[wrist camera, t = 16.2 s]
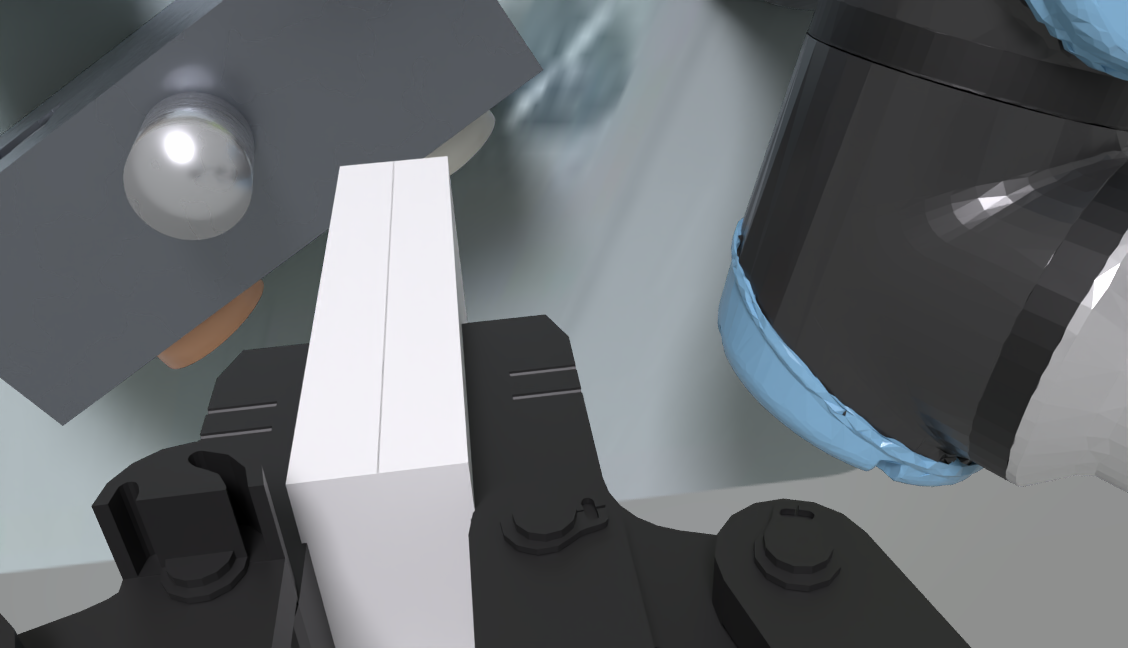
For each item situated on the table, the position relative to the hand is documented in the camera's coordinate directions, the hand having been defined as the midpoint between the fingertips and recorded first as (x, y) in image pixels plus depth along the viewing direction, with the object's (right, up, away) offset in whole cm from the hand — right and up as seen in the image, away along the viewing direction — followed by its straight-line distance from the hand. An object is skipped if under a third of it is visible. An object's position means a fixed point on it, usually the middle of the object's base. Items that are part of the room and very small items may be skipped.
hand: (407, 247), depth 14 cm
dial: (-10, +5, +18) cm, 21 cm away
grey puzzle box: (-12, +10, +29) cm, 33 cm away
